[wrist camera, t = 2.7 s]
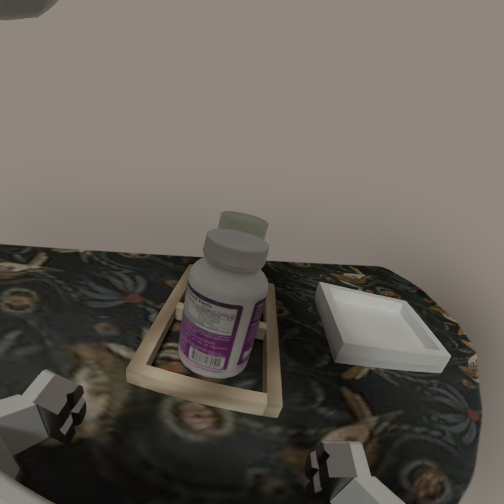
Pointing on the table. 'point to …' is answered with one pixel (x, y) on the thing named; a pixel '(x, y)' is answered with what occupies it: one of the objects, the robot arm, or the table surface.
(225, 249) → the pill bottle
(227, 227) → the sage vial
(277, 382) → the light wood flat frame
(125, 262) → the table surface
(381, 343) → the grey tray
